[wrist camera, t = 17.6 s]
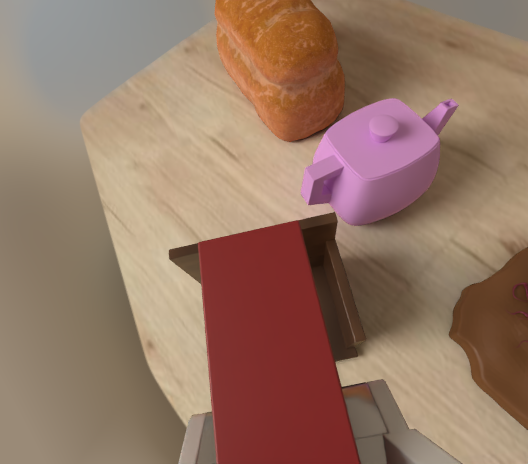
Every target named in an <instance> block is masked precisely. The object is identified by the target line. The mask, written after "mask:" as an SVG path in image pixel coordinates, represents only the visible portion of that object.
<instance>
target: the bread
mask: <svg viewBox="0 0 528 464" xmlns="http://www.w3.org/2000/svg"><path fill="white" fill-rule="evenodd" d="M215 17H216V20H217V21H218V25H217V34H216V35H217V47H218V51H219V55H220V58H221V61H222V63H223V65H224V66H225V68H226V70H227V72H228V74H229V75H230V76H231V77H232V78H233V80H234V81H235V83H236V84H237V85H238V87H239V88H240V89H241V91H242V92H243V94H244V95H245V96H246V97H247V98H248V100H250V101H251V102H252V103H253V104H254V106H255V109H256V111H257V113H258V115H259V117H260V118H261V119H262V121H263V122H264V123H265V124H266V125H267V127H268V128H269V129H270V130H271V131H272V132H273V133H274V134H275V135H276V136H277V137H278V138H280V139H282V140H284V141H289V142H291V141H294V140H298V139H304V138H306V137H308V136H310V135H312V134H314V133H316V132H318V131H320V130H322V129H324V128H326V127H327V126H329V125H330V124H332V123H333V122H334V121H335V119H336V118H337V117H338V115H339V114H340V112H341V111H342V109H343V105H344V93H345V78H344V73H343V70H342V67H341V65H340V63H339V61H338V59H337V54H338V43H337V39H336V36H335V33H334V30H333V27H332V25H331V22H330V21H329V20H328V19H327V18H326V16H325V15H324V14H323V13H321V12H320V11H319V10H318V9H317V8H316V7H315V5H314V4H313V3H312V1H311V0H216V3H215Z"/></svg>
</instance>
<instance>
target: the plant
mask: <svg viewBox="0 0 528 464" xmlns="http://www.w3.org/2000/svg"><path fill="white" fill-rule="evenodd" d="M449 336H450V338H451V339H453V340H454V341H455V342H457V343H458V344H459V345H460V346H461V347H462V348H463V350H464V351H465V352H466V354H467V356H468V359H469V362H470V365H471V373H472V378H473V380H474V381H475V382H476V384H477V385H478V386H479V387H480V388H481V389H482V390H483V391H484V392H486V393H487V394H488V395H489V396H490V397H492V398H493V399H494V400H495V401H496V402H497V403H498V404H499V405H500V406H501V407H502V408H503V409H504V410H505V411H507V412H508V413H509V414H510V415H511V416H512V417H513V418H515V419H516V420H517V421H518V422H519V423H520V424H521V425H523V426H524V427H525V428H526V429H527V430H528V247H527V248H526V249H524V250H522V251H520V252H519V253H517V254H516V255H515V256H513V257H512V258H511V259H510V260H509V261H508V262H507V263H506V264H505V266H504V267H503V268H502V269H500V270H499V271H498V272H497V273H495V274H493V275H492V276H490V277H489V278H487V279H486V280H484V281H482V282H480V283H476V284H472V285H470V286H468V287H466V288H465V289H464V290H463V291H462V293H461V297H460V299H459V300H458V302H457V303H456V305H455V308H454V311H453V323H452V327H451V330H450V332H449Z"/></svg>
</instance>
